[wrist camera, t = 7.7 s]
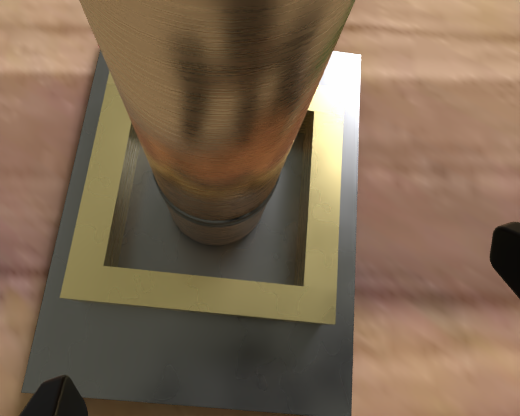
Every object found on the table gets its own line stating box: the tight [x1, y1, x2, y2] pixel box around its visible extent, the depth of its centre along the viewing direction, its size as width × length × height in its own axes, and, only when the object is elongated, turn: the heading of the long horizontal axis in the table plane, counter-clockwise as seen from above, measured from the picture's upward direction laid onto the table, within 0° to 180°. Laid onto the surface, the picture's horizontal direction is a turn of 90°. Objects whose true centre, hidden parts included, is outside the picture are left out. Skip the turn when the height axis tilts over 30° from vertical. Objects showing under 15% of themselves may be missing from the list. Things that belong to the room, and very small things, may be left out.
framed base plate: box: [21, 50, 361, 416], centre depth 17 cm, size 16×12×3 cm
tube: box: [79, 0, 355, 245], centre depth 11 cm, size 4×4×14 cm
